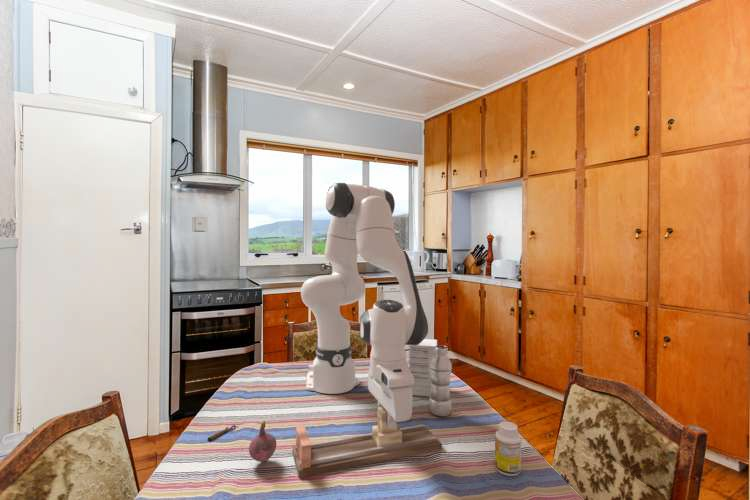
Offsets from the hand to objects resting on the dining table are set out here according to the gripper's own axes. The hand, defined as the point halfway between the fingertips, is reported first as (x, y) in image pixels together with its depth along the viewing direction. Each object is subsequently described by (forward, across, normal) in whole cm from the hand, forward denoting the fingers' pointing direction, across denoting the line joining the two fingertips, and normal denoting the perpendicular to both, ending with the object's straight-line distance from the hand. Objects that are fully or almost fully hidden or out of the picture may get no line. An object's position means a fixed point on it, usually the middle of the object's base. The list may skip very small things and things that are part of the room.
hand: (387, 422), depth 95 cm
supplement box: (+6, -29, +25) cm, 39 cm away
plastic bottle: (+6, -12, +22) cm, 26 cm away
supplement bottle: (+6, +17, +22) cm, 29 cm away
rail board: (+6, 0, -5) cm, 8 cm away
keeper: (+5, 0, 0) cm, 5 cm away
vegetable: (+6, -3, -29) cm, 30 cm away
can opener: (+7, -20, -38) cm, 44 cm away
